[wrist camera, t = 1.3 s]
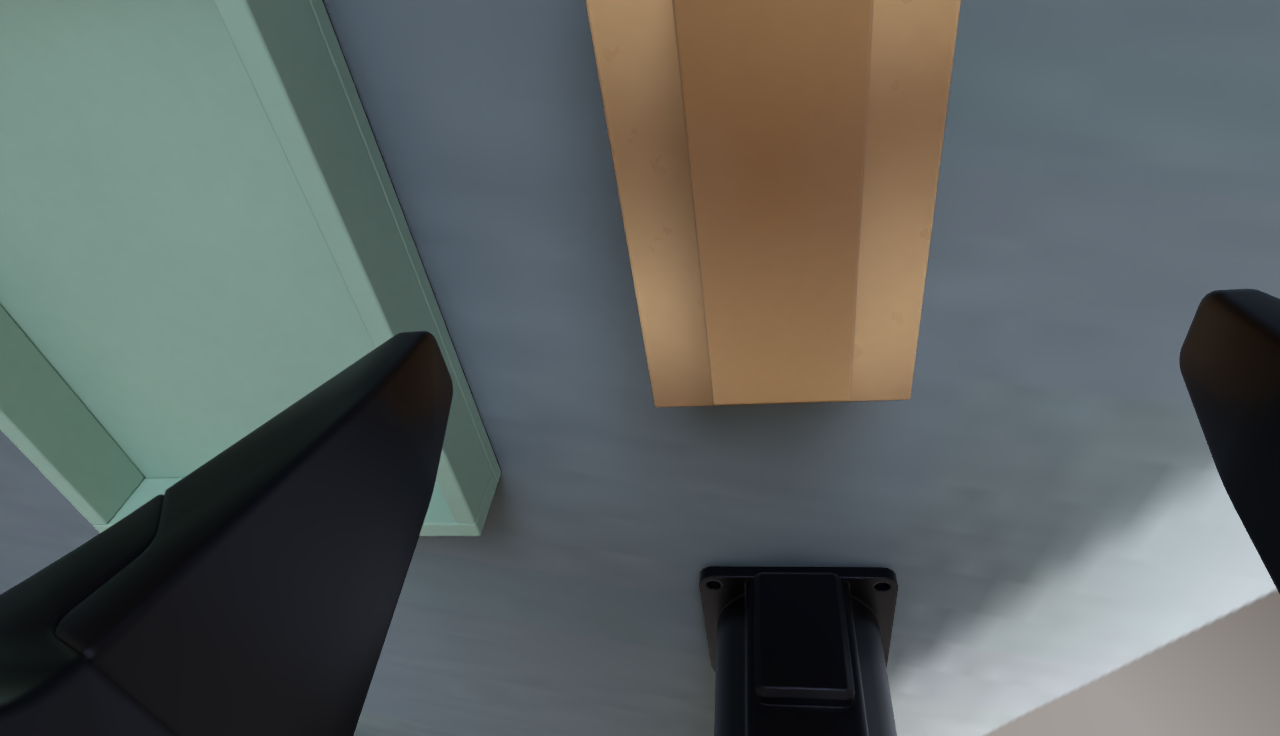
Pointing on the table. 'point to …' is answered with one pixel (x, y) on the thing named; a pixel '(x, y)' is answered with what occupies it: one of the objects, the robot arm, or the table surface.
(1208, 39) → the table surface
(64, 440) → the tray
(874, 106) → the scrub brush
